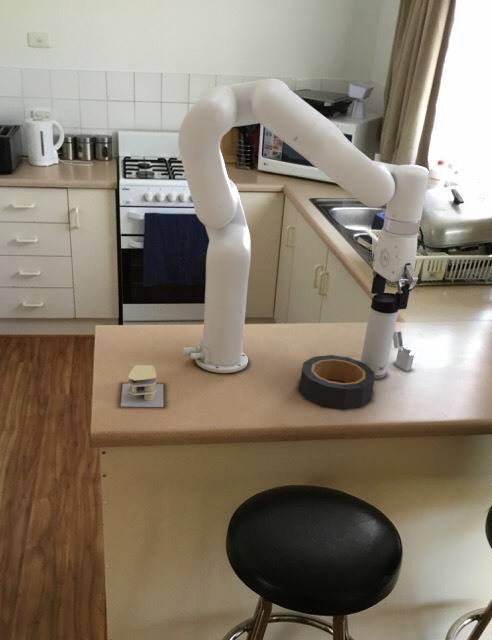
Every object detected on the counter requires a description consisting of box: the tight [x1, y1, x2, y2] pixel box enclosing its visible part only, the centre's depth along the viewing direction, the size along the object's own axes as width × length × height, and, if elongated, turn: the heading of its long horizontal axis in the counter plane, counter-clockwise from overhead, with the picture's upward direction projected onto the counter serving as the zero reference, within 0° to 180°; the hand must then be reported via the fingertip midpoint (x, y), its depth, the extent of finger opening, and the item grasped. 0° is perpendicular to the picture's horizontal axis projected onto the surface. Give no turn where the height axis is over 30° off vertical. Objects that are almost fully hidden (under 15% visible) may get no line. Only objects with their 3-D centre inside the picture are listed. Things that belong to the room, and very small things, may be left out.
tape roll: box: [298, 354, 375, 410], centre depth 157 cm, size 16×16×5 cm
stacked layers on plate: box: [120, 364, 164, 408], centre depth 149 cm, size 10×9×6 cm
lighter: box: [392, 330, 415, 372], centre depth 170 cm, size 7×2×8 cm, turn 28°
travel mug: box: [360, 292, 399, 380], centre depth 162 cm, size 6×7×20 cm
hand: (388, 300), depth 157 cm, fingers open, 9 cm apart
